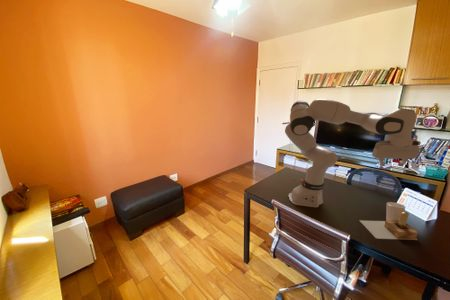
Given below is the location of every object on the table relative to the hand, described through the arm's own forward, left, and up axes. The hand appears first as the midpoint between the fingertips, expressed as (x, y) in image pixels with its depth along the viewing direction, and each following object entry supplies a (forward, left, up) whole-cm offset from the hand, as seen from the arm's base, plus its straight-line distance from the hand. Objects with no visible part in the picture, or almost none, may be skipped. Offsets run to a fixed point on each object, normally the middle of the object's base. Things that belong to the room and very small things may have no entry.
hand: (391, 165), depth 100 cm
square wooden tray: (+4, -11, -34) cm, 35 cm away
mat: (-1, -9, -34) cm, 35 cm away
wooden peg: (+4, -11, -34) cm, 35 cm away
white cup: (+8, -2, -34) cm, 35 cm away
